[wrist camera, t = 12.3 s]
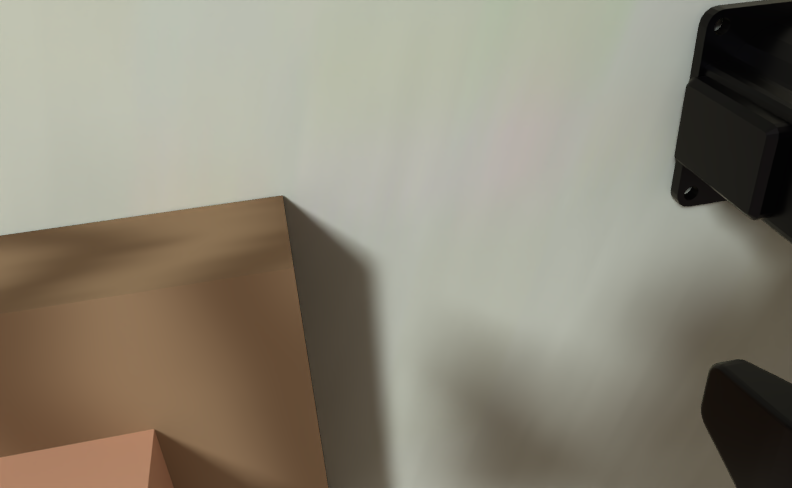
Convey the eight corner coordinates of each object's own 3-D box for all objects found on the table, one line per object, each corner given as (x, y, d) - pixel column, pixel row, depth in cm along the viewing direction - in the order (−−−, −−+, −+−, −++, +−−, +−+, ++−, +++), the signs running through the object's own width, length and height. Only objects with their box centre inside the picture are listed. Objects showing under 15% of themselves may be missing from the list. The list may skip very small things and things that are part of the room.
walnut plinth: (282, 195, 22) (293, 268, 18) (330, 501, 29) (344, 592, 26) (-233, 269, 20) (-326, 365, 16) (-39, 576, 27) (-76, 685, 24)
